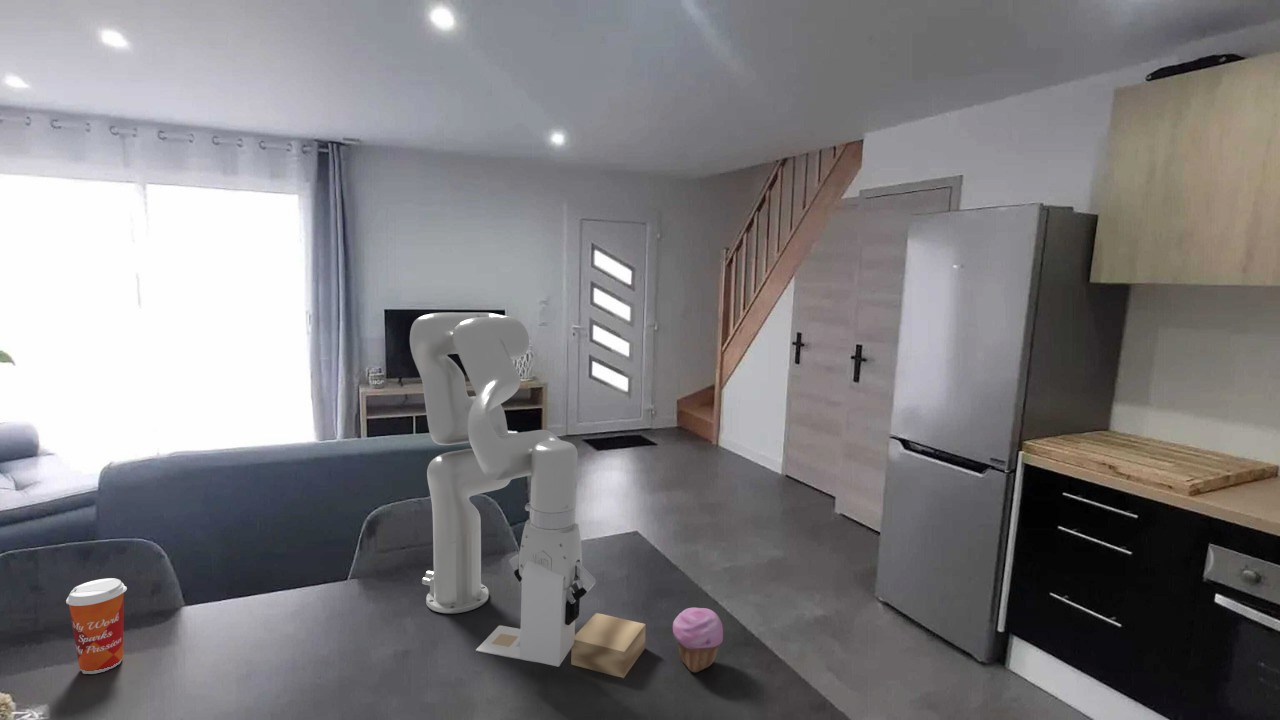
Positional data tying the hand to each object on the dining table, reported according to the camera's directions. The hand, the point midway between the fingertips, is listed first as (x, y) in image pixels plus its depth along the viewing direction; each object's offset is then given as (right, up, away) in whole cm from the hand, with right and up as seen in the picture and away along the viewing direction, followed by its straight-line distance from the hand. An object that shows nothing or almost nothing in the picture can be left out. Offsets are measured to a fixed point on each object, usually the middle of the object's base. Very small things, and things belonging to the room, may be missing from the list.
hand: (550, 614), depth 109 cm
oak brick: (+10, -10, +6) cm, 15 cm away
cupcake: (+25, -11, +4) cm, 28 cm away
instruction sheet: (-7, -9, +10) cm, 15 cm away
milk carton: (-1, -7, 0) cm, 7 cm away
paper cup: (-76, -9, 0) cm, 77 cm away
